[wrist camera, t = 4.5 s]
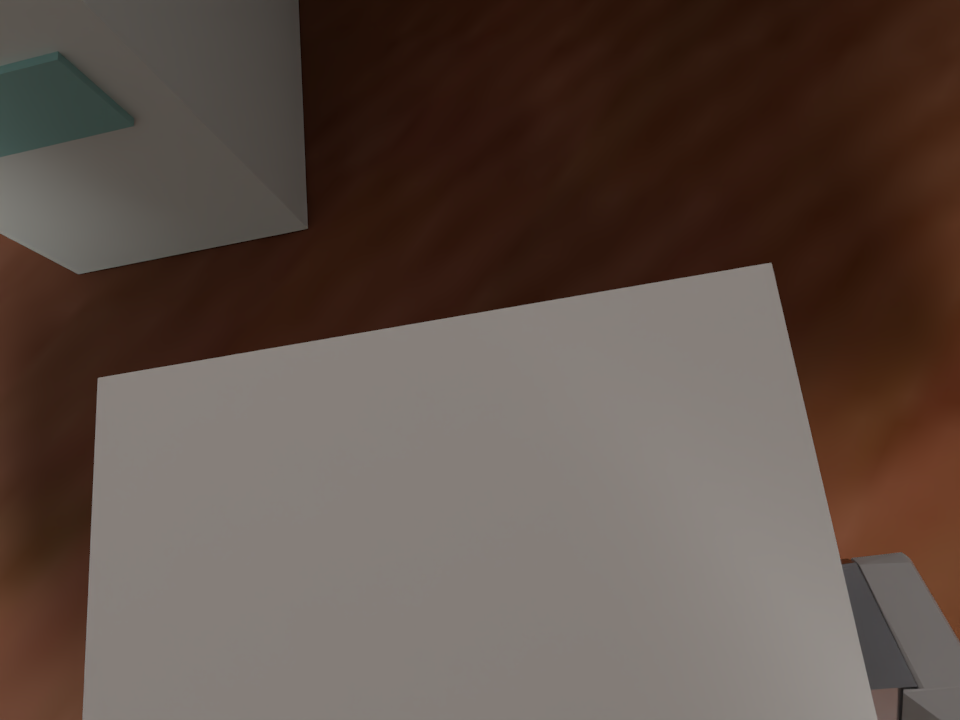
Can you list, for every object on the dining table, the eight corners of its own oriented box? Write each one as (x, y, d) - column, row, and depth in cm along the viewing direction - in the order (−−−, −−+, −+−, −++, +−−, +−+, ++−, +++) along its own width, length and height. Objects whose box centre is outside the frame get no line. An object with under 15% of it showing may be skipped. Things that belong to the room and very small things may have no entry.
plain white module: (689, 456, 14) (766, 242, 5) (756, 821, 13) (1067, 1537, 3) (435, 490, 15) (99, 358, 6) (465, 836, 14) (49, 1436, 4)
